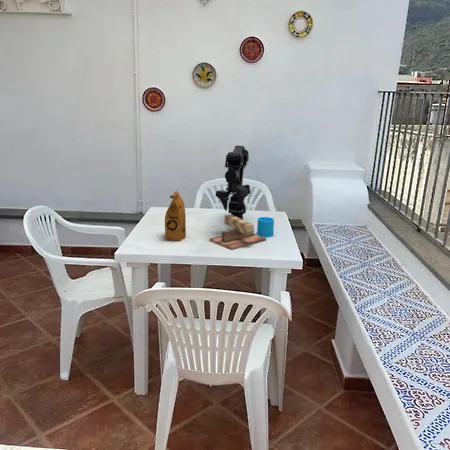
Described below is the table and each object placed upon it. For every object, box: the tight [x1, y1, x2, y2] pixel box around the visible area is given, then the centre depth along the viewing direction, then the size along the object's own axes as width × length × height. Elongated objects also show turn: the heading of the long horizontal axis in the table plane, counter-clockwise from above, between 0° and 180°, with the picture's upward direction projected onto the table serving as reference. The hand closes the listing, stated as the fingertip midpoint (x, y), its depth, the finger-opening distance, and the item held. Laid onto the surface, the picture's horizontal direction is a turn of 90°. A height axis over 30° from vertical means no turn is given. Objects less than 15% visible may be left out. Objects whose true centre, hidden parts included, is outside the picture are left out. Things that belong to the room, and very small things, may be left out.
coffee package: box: [164, 190, 187, 242], centre depth 211 cm, size 10×12×22 cm
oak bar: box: [224, 213, 255, 235], centre depth 209 cm, size 20×4×4 cm, turn 31°
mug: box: [256, 216, 275, 238], centre depth 222 cm, size 12×8×8 cm
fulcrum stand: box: [209, 227, 267, 251], centre depth 211 cm, size 16×22×6 cm
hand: (232, 209), depth 221 cm, fingers open, 9 cm apart
